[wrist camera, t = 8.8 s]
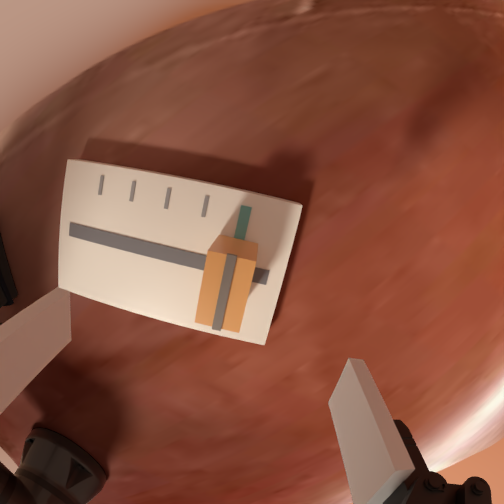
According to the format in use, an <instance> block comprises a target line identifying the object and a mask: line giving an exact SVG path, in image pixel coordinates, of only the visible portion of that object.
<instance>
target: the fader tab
mask: <svg viewBox="0 0 504 504" xmlns="http://www.w3.org/2000/svg"><path fill="white" fill-rule="evenodd" d="M257 252H258V243H254V242H250V241H245V240H241V239H237V238H233V237H228V236H224V235H220V234H219V235H218V237H217V238H216V239H215V241H214V242H213V244H212V245H211V246H210V248H209V249H208V251H207V256H206V262H205V267H204V272H203V277H202V283H201V288H200V294H199V299H198V305H197V311H196V316H195V323H199V324H203V325H207V326H211V327H212V329H213V330H217V331H221V329H224V330H228V331H233V332H237V333H239V331H240V327H241V323H242V319H243V315H244V311H245V307H246V303H247V299H248V295H249V291H250V287H251V282H252V278H253V274H254V270H255V266H256V262H257Z"/></svg>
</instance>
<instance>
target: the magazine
mask: <svg viewBox="0 0 504 504" xmlns="http://www.w3.org/2000/svg"><path fill="white" fill-rule="evenodd" d="M17 295H18V293H17V290H16V287H15V284H14V281H13V278H12V275H11V272H10V268H9V265H8V262H7V258H6V255H5V251H4V247H3V243H2V239H1V235H0V308H1V307H2V306H8V305H12V304H13V303H14V302H13V300H12V299H14V298H15V297H17Z"/></svg>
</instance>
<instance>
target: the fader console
mask: <svg viewBox="0 0 504 504" xmlns="http://www.w3.org/2000/svg"><path fill="white" fill-rule="evenodd" d="M302 206H303V205H301V204H300V203H298V202H294V201H290V200H286V199H282V198H278V197H274V196H269V195H265V194H261V193H256V192H252V191H248V190H243V189H239V188H234V187H230V186H225V185H221V184H216V183H211V182H206V181H201V180H197V179H192V178H187V177H181V176H176V175H171V174H166V173H160V172H155V171H149V170H144V169H138V168H132V167H126V166H120V165H114V164H108V163H102V162H95V161H88V160H81V159H68V160H67V166H66V173H65V180H64V188H63V197H62V207H61V219H60V234H59V261H58V287H59V288H62V289H65V290H67V291H70V292H73V293H76V294H79V295H81V296H84V297H87V298H90V299H93V300H96V301H99V302H102V303H105V304H109V305H112V306H115V307H118V308H121V309H124V310H128V311H131V312H134V313H138V314H141V315H144V316H148V317H151V318H155V319H158V320H162V321H166V322H169V323H173V324H177V325H180V326H184V327H188V328H192V329H196V330H200V331H204V332H208V333H212V334H216V335H220V336H225V337H229V338H233V339H238V340H242V341H247V342H252V343H256V344H261V345H265V342H266V338H267V335H268V331H269V328H270V324H271V321H272V318H273V314H274V311H275V307H276V303H277V300H278V296H279V293H280V289H281V286H282V282H283V278H284V275H285V271H286V267H287V264H288V260H289V256H290V253H291V249H292V245H293V241H294V238H295V234H296V230H297V226H298V222H299V218H300V214H301V210H302ZM219 234H220V235H224V236H228V237H233V238H237V239H241V240H245V241H250V242H254V243H258V252H257V262H256V266H255V270H254V274H253V278H252V282H251V287H250V291H249V295H248V299H247V303H246V307H245V311H244V315H243V319H242V323H241V327H240V331H239V333H237V332H233V331H228V330H224V329H221V331H217V330H213V329H212V327H211V326H207V325H203V324H199V323H195V316H196V311H197V305H198V299H199V294H200V288H201V283H202V277H203V272H204V267H205V262H206V256H207V251H208V249H209V248H210V246H211V245H212V244H213V242H214V241H215V239H216V238H217V237H218V235H219Z"/></svg>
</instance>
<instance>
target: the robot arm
mask: <svg viewBox="0 0 504 504" xmlns="http://www.w3.org/2000/svg"><path fill="white" fill-rule="evenodd" d="M70 341H71V320H70V291H67V290H65V289H62V288H59V287H57V288H55V289H54V290H52V291H51V292H49V293H48V294H46V295H45V296H43V297H41V298H40V299H38V300H37V301H35V302H34V303H32V304H31V305H29V306H28V307H26V308H25V309H23V310H22V311H20V312H19V313H18V314H16V315H15V316H13V317H12V318H10V319H9V320H7V321H6V322H5V323H3V324H2V323H0V414H1V413H2V412H3V411H4V410H5V409H6V408H7V407H8V405H9V404H10V403H11V402H12V401H13V400H14V399H15V398H16V397H17V396H18V395H19V394H20V392H21V391H22V390H23V389H24V388H25V387H26V386H27V385H28V384H29V383H30V382H31V381H32V380H33V379H34V378H35V377H36V376H37V375H38V374H39V372H40V371H41V370H42V369H43V368H44V367H45V366H46V365H47V364H48V363H49V362H50V361H51V360H52V359H53V358H54V357H55V356H56V355H57V354H58V353H59V352H60V351H61V350H62V349H63V348H64V347H65V346H66V345H67V344H68V343H69V342H70ZM328 403H329V407H330V411H331V415H332V419H333V423H334V426H335V430H336V434H337V438H338V442H339V446H340V450H341V454H342V458H343V462H344V466H345V470H346V474H347V478H348V483H349V487H350V491H351V495H352V500H353V504H492V501H491V490H490V487H489V485H488V483H487V482H486V481H485V480H484V479H482V478H480V477H470V478H468V479H467V480H466V481H465V482H464V484H462V485H456V484H447V482H446V480H445V479H444V478H443V477H442V476H441V475H440V474H438V473H435V472H432V471H429V470H428V468H427V465H426V463H425V461H424V459H423V457H422V455H421V453H420V451H419V449H418V447H417V446H416V443H415V441H414V439H412V435H411V433H410V431H409V429H408V427H407V426H406V425H405V424H404V423H403V422H402V421H401V420H393V419H392V417H391V415H390V413H389V411H388V409H387V407H386V404H385V402H384V400H383V398H382V396H381V394H380V392H379V390H378V388H377V386H376V384H375V382H374V380H373V378H372V376H371V374H370V372H369V370H368V368H367V366H366V364H365V362H364V360H361V359H353V358H348V361H347V363H346V365H345V367H344V370H343V372H342V374H341V376H340V379H339V381H338V383H337V385H336V387H335V389H334V392H333V394H332V396H331V398H330V400H329V402H328ZM105 482H106V475H105V473H104V471H103V469H102V468H101V466H100V465H99V464H98V463H97V462H96V461H95V460H94V459H93V458H92V457H91V456H90V455H89V454H88V453H87V452H85V451H84V450H83V449H82V448H80V447H79V446H78V445H76V444H75V443H73V442H72V441H70V440H68V439H67V438H65V437H63V436H62V435H60V434H58V433H56V432H53V431H51V430H48V429H44V428H35V429H33V430H32V431H31V433H30V434H29V435H28V437H27V438H26V441H25V445H24V449H23V453H22V457H21V462H20V466H19V468H18V469H17V471H16V472H15V474H13V473H12V472H11V471H9V470H8V469H7V468H6V467H5V466H4V465H3V464H2V463H1V462H0V504H87V503H88V502H89V501H90V500H91V499H93V498H94V497H95V496H96V495H97V494H98V493H99V492H100V491H101V490H102V488H103V486H104V484H105Z"/></svg>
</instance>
